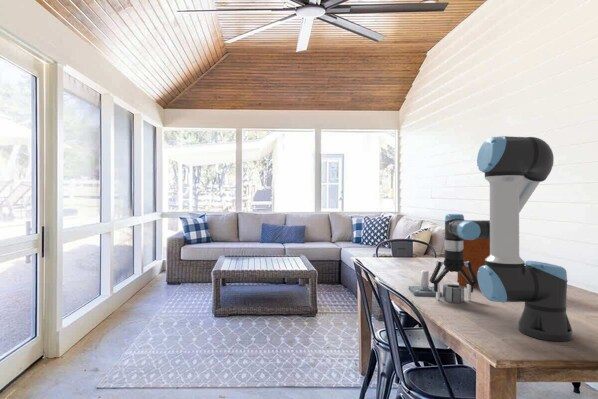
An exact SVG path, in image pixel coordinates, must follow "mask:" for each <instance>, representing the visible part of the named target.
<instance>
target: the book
mask: <svg viewBox="0 0 598 399" xmlns="http://www.w3.org/2000/svg"><path fill="white" fill-rule="evenodd" d="M462 251H463V261H464V262H467V261H469V262H471V268H472V270H473V272H474V274H475V277H476V279H477V273H478V271H479V268H480V267H481V266H483V265H485V259H486V258H487V257H488V256H489V255H490V239H474V240H464V249H463V250H462ZM462 269H463V270H464V272H465V273H466V274H467V276H468V277H469V278H470V280H471V281H472V278H471V276H470V274H469V272H468V269H467V267H466V266H465V265H464V266H463V267H462ZM456 279H457V283H458V285H461V286H463V287H467V284H469V283H468V282H467V280H466V279H465V278H464V277H463V275H462V274H461V273H460V272H457V278H456ZM477 281H478V279H477ZM474 287H475V288H480V287H479V284H474V286H473V288H474Z"/></svg>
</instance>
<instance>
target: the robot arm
mask: <svg viewBox="0 0 598 399" xmlns="http://www.w3.org/2000/svg"><path fill="white" fill-rule="evenodd" d="M476 164H477V167H478V168H477V169H478V170H479V171H480V172H481V173H484V179H485V180H486V181H487V182H488V183H489V220H487V219H486V220H483V219H482V220H480V219H479V220H478V219H477V220H476V219H475V220H469V219H468V220H467V219H466V220H465V216H464V214H462V213H461V214H460V213H447V214H445V218H444V249H445V250H444V261H440V260H437V261H436V264H435V265H436V266H435V268H434V270H433V272H432V274H431V276H430V279H428V282H430V283H432V284H433V287H434V291H435V292H436V296H435V299H436V300H437V301H440V298H441V296H440V292H441V285H440V284H439V283H440V282H441V281H442V280H443V278H445V276H446V275H447V274H448V273H449V272H451V273H454V272H455V273H458V272H460V273H461V274H462V275H463V277H464V278H465V279H466V280H467V282H468V283H469V284H467V286H466V300H467V301H469V302H471V301H472V300H471V299H472V294H473V293H474V287H473V286H474V284H479V287H478V288H479V289H480V292H481V293H482V295H483V296H484V297H485V299H487V300H488V301H490V302H493V303H494V302H495V303H502V304H504V303H524V307H523V311H521V312H522V313H521V316H520V318H519V320H518V323H517V324H518V326H517V327H518V328H517V329H518V331H519V332H520V333H523V334H524V335H527V336H529V337H531V338H535V339H539V340H544V341H549V342H550V341H551V342H567V341H571V340H572V339H573V328H572V326H571V323H570V320H569V316H568V314H567V296H568V295H567V293H568V292H567V290H568V281H569V280H568V276H567V275H568V274H567V270H566V269H565V267H563V266H561V265H557V264H552V263H547V262H542V261H534V260H526V261H525V260H524V259H522V258H521V257H520V212H521V211H522V209H524V207H525V205H526V203H528V201H529V199H530V198H531V196H532V195H533V193H534V192H535V190H536V189H537V187H538V185H539V184H540V183H542V182H544V181H546V179H547V178H548V177H549V175H550V173H551V171H552V170H553V167H554V154H553V150H552V147H551V146H550V144H548V143H547V142H546V140H544V139H542V138H539V137H535V136H508V135H506V136H504V135H501V136H491V137H488V138H487V139H485V140H484V141H483V142H482V144H481V146H480V148H479V149H478V152H477V157H476ZM474 239H490V255H489V256H488V257H487V258H486V259H485V265H483V266H481V267H480V268H479V271H478V273H477V279H478V281H477V279H476V277H475V274H474V272H473V270H472V268H471V262H469V261H467V262H464V261H463V251H462V250H463V249H464V240H474ZM464 265H465V266H466V267H467V269H468V272H469V274H470V276H471V278H472V281H471V280H470V278H469V277H468V276H467V274H466V273H465V272H464V270H463V269H462V267H463V266H464ZM443 266H444V268H443V269H442V271H441V272H440V270H441V267H443ZM439 272H440V273H439ZM438 274H439V275H438Z"/></svg>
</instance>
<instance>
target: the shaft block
mask: <svg viewBox="0 0 598 399" xmlns="http://www.w3.org/2000/svg"><path fill="white" fill-rule="evenodd" d="M429 276H430V274H429V270H425V269H423V270H421V272H420V277H421V279H420V286H419V285H408V291H409V292H411V293H412V295H413V296H414V297H436V292H435V291H434V285H429ZM440 297H443V292H442V291H440Z"/></svg>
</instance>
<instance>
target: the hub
mask: <svg viewBox="0 0 598 399" xmlns="http://www.w3.org/2000/svg"><path fill="white" fill-rule="evenodd" d="M442 300H443V301H444V302H446V303H447V302H448V303H454V304H461V303H464V302H465V286H461V285H459V284H455V283H448V284H446V283H445V284H443V285H442Z"/></svg>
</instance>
